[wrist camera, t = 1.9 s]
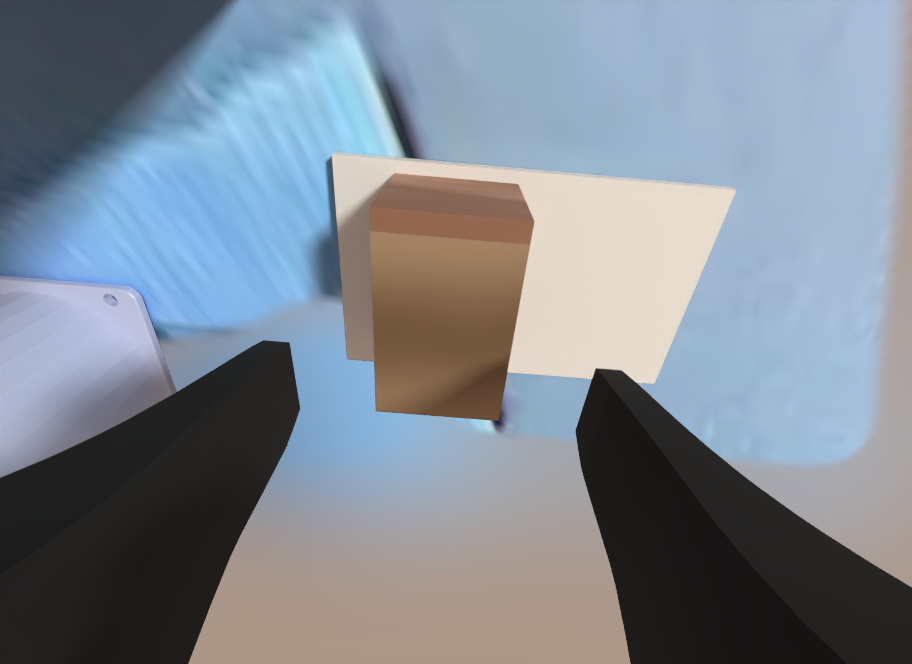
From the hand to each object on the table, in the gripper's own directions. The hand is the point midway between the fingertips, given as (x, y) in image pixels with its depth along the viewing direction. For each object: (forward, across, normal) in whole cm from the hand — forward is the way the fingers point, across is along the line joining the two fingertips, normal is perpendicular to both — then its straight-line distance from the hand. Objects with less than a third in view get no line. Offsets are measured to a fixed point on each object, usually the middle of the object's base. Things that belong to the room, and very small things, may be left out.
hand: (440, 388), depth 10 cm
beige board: (+7, -2, 0) cm, 7 cm away
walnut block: (+6, 0, 0) cm, 6 cm away
